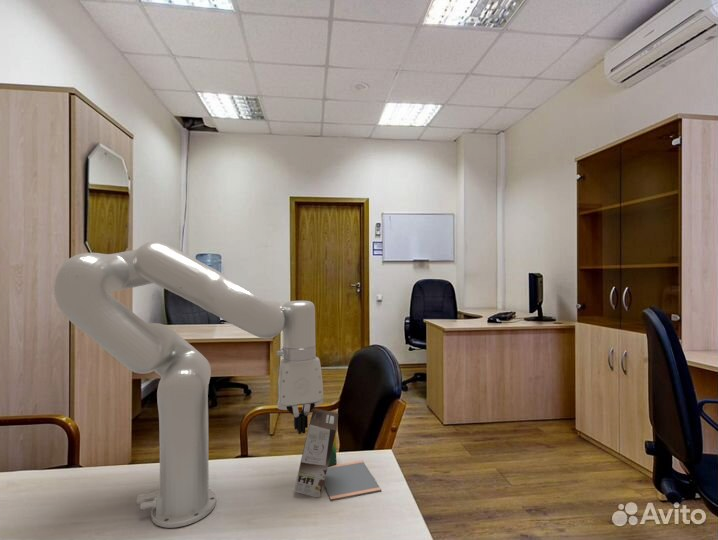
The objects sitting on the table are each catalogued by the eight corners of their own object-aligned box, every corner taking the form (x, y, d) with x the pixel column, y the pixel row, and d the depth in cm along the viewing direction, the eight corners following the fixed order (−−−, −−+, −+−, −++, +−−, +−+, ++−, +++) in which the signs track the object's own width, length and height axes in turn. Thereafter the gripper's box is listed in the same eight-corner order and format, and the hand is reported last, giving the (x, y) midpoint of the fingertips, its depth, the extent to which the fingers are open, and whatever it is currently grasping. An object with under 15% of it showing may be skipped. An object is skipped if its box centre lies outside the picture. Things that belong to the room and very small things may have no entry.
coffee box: (320, 498, 84) (336, 430, 83) (293, 492, 84) (308, 424, 83) (325, 474, 93) (339, 412, 92) (299, 468, 93) (313, 406, 92)
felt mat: (330, 501, 83) (330, 499, 83) (318, 469, 96) (318, 467, 96) (381, 491, 87) (381, 489, 87) (362, 462, 100) (362, 460, 100)
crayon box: (314, 457, 102) (313, 414, 103) (323, 455, 104) (323, 412, 105) (326, 467, 96) (326, 421, 97) (336, 464, 98) (336, 419, 98)
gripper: (268, 359, 82) (269, 443, 82) (334, 354, 87) (335, 433, 87) (265, 352, 89) (267, 429, 89) (327, 347, 94) (328, 421, 94)
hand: (301, 431), depth 88 cm, fingers closed
